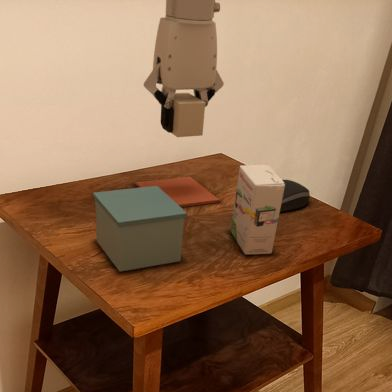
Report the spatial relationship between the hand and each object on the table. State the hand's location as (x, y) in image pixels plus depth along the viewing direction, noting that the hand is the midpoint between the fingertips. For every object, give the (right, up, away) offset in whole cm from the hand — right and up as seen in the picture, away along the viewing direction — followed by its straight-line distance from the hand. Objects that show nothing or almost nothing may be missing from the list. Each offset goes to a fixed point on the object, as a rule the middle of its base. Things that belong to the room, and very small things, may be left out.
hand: (181, 128), depth 96 cm
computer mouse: (+19, -11, +8) cm, 24 cm away
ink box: (+12, -22, -6) cm, 25 cm away
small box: (0, 0, 0) cm, 0 cm away
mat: (-1, -9, +7) cm, 12 cm away
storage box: (-7, -24, -12) cm, 28 cm away
